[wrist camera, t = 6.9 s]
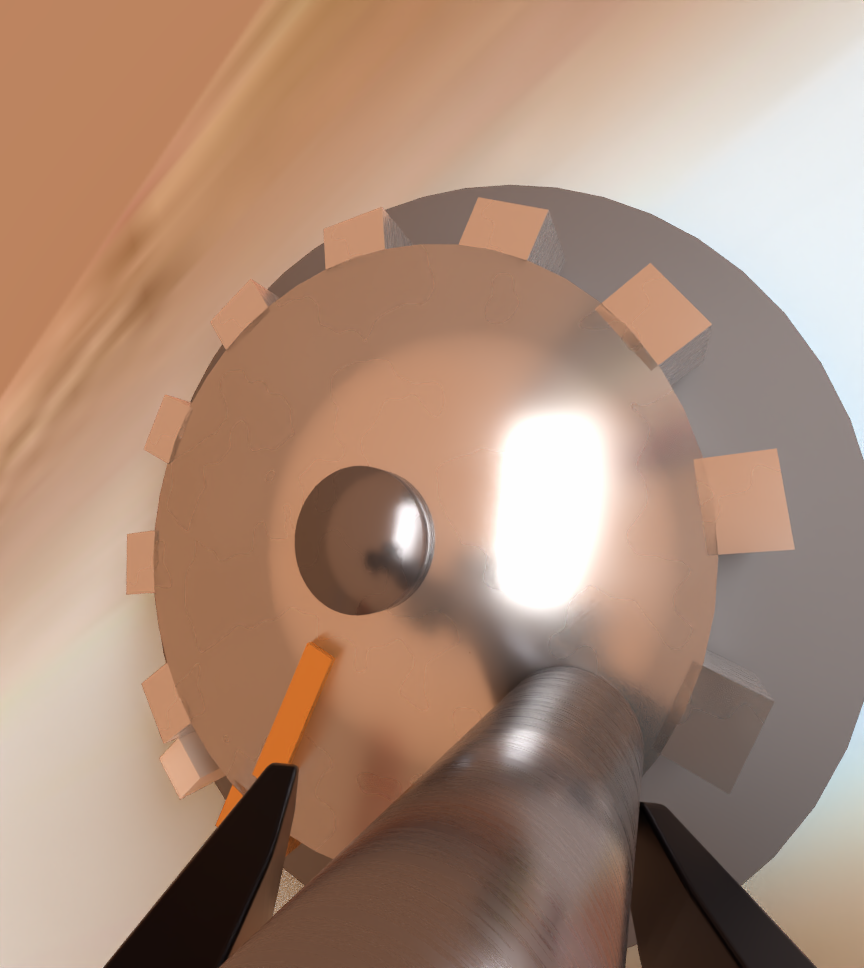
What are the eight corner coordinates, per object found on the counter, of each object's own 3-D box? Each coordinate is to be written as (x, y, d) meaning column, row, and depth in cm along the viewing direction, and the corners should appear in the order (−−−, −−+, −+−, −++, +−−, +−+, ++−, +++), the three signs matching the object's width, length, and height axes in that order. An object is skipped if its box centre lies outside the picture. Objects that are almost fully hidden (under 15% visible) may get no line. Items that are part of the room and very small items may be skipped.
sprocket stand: (906, 1083, 9) (978, 1243, 7) (156, 832, 17) (83, 872, 14) (833, 111, 11) (872, 12, 9) (196, 275, 19) (136, 241, 17)
